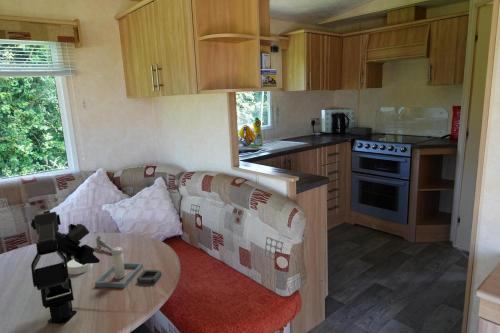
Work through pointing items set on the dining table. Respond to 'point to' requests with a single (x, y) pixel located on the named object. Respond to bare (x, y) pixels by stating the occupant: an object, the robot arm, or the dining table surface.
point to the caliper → (102, 243)
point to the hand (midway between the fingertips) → (92, 258)
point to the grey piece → (149, 278)
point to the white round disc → (77, 267)
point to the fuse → (118, 262)
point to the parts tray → (119, 284)
